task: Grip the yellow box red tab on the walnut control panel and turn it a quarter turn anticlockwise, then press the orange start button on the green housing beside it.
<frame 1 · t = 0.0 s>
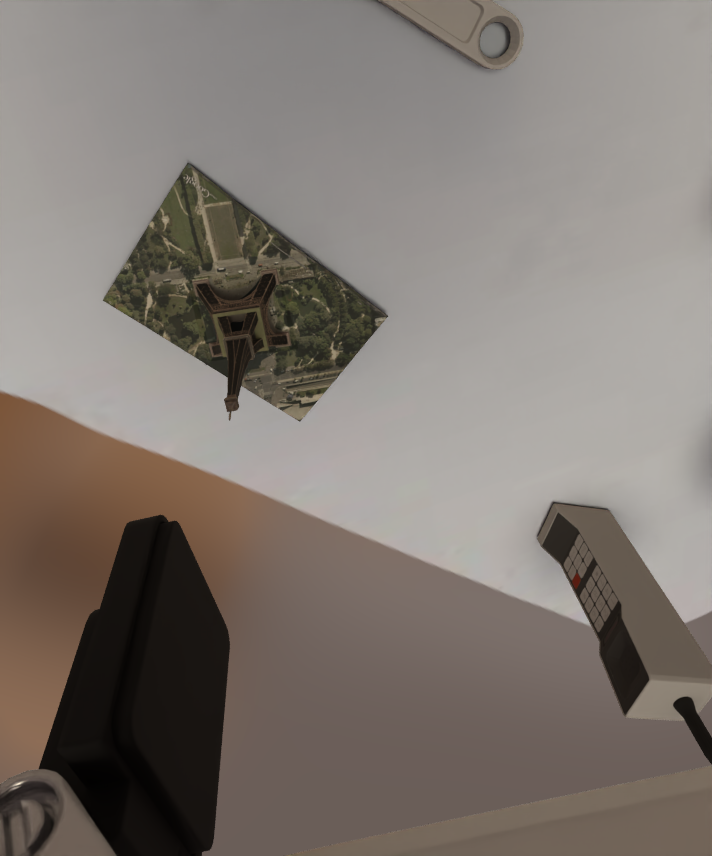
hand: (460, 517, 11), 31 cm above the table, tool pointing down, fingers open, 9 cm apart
vintage mobile phone: (570, 520, 54), on the table
eiffel tower figurine: (250, 305, 42), on the table
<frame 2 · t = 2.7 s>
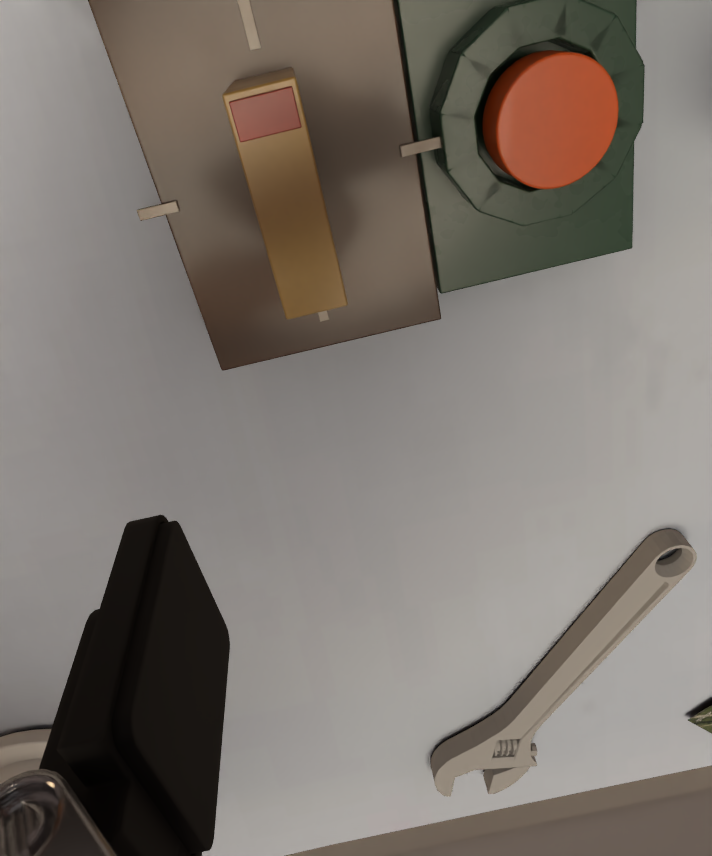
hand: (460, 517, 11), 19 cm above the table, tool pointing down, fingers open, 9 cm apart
start button: (548, 120, 22), point 4 cm above the table, slide at 0.1 cm
adjustable wrench: (555, 670, 43), on the table
control panel: (287, 162, 25), on the table
yellow box red tab: (289, 193, 21), point 5 cm above the table, hinge at 0.0°
button housing: (512, 108, 25), on the table
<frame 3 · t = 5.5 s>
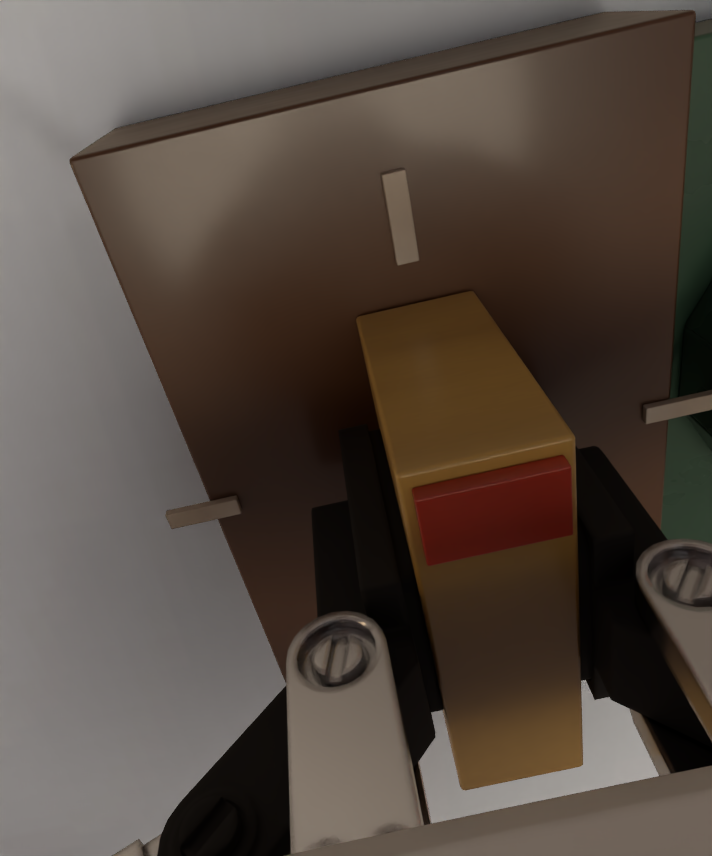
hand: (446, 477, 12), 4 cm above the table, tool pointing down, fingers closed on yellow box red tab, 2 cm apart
control panel: (412, 384, 15), on the table
yellow box red tab: (469, 542, 11), point 5 cm above the table, hinge at 0.0°, touching gripper
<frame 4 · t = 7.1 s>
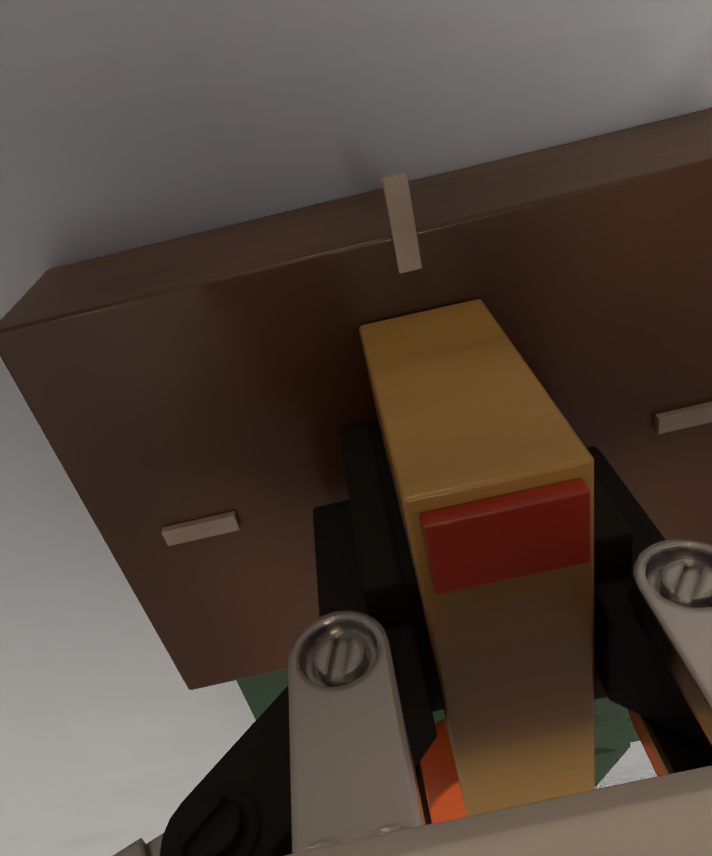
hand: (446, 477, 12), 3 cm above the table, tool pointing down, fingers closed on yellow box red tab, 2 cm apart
start button: (501, 776, 16), point 4 cm above the table, slide at 0.1 cm
control panel: (416, 392, 15), on the table
yellow box red tab: (476, 561, 10), point 5 cm above the table, hinge at 89.4°, touching gripper
button housing: (463, 644, 19), on the table
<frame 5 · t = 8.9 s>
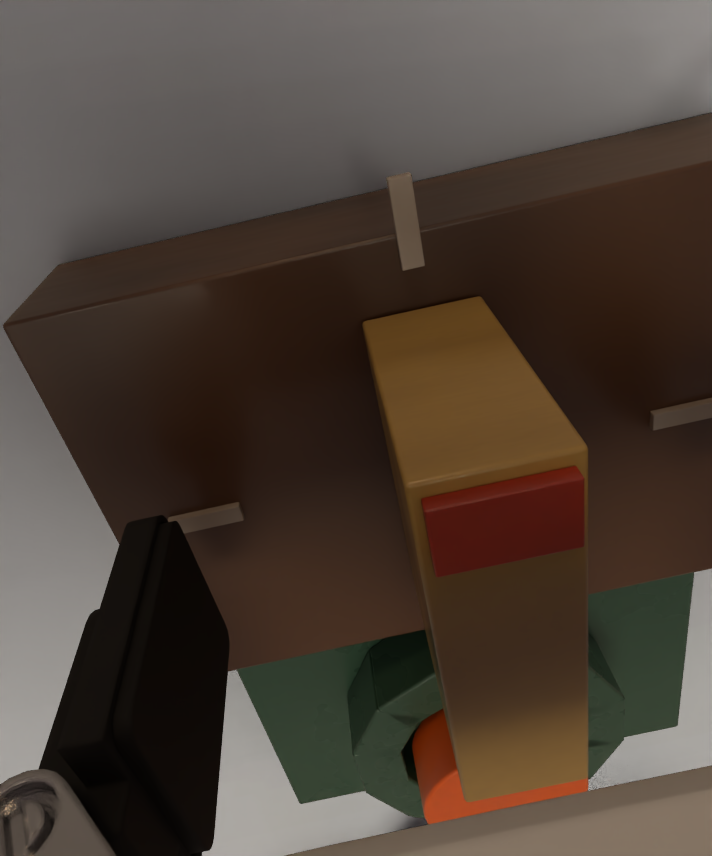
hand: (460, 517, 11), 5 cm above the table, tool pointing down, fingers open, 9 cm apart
start button: (496, 766, 16), point 4 cm above the table, slide at 0.1 cm
control panel: (416, 388, 15), on the table
yellow box red tab: (475, 551, 10), point 5 cm above the table, hinge at 89.5°
button housing: (460, 639, 20), on the table
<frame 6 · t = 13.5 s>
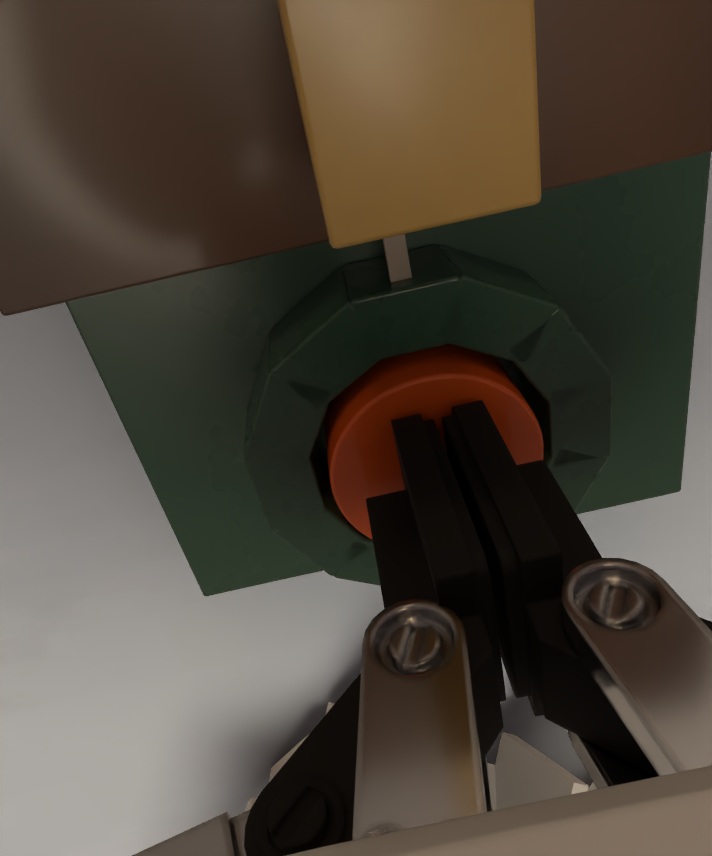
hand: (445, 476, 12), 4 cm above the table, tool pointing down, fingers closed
spiral staircase: (516, 779, 26), on the table
start button: (429, 445, 13), point 3 cm above the table, slide at -0.8 cm, touching gripper
button housing: (403, 373, 15), on the table
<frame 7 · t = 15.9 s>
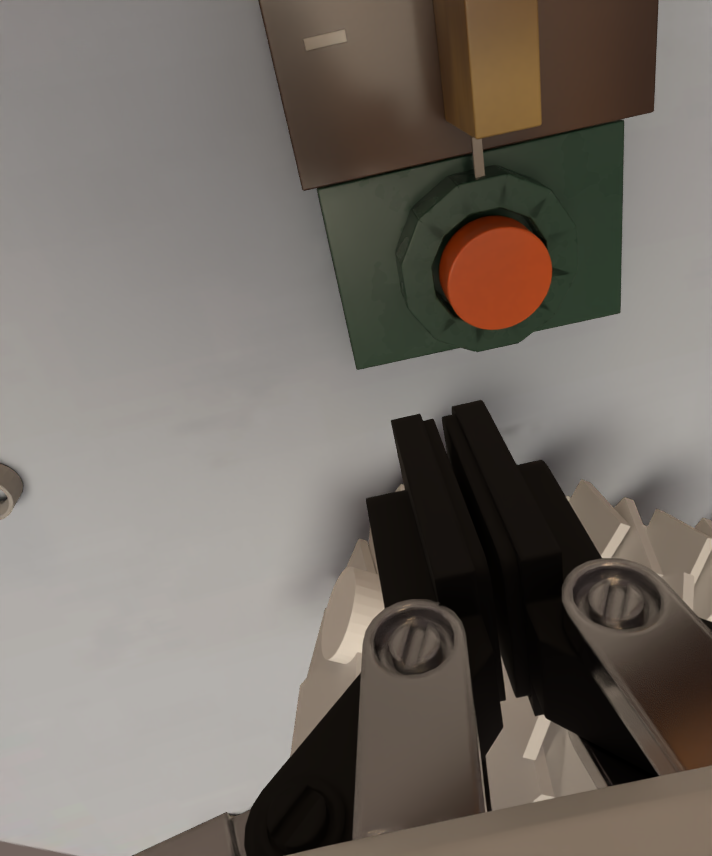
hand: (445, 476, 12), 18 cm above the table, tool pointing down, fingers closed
spiral staircase: (527, 550, 39), on the table
start button: (494, 273, 25), point 4 cm above the table, slide at 0.1 cm
control panel: (445, 9, 24), on the table
yellow box red tab: (482, 5, 19), point 5 cm above the table, hinge at 89.5°
button housing: (470, 244, 29), on the table
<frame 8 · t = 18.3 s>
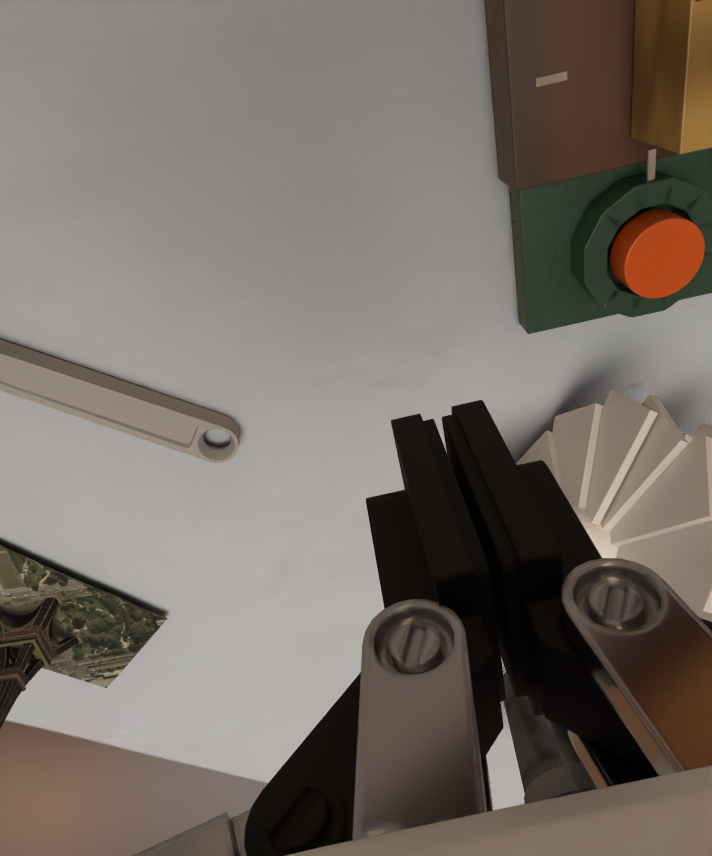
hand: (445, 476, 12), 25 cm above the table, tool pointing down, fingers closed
eiffel tower figurine: (44, 611, 47), on the table
spiral staircase: (636, 489, 46), on the table
start button: (656, 254, 33), point 4 cm above the table, slide at 0.1 cm
adjustable wrench: (19, 371, 37), on the table
beverage cup: (526, 677, 56), on the table
control panel: (624, 51, 31), on the table
yellow box red tab: (683, 57, 27), point 5 cm above the table, hinge at 89.5°
button housing: (621, 232, 36), on the table
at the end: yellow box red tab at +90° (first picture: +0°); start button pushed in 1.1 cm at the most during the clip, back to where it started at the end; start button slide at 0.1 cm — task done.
